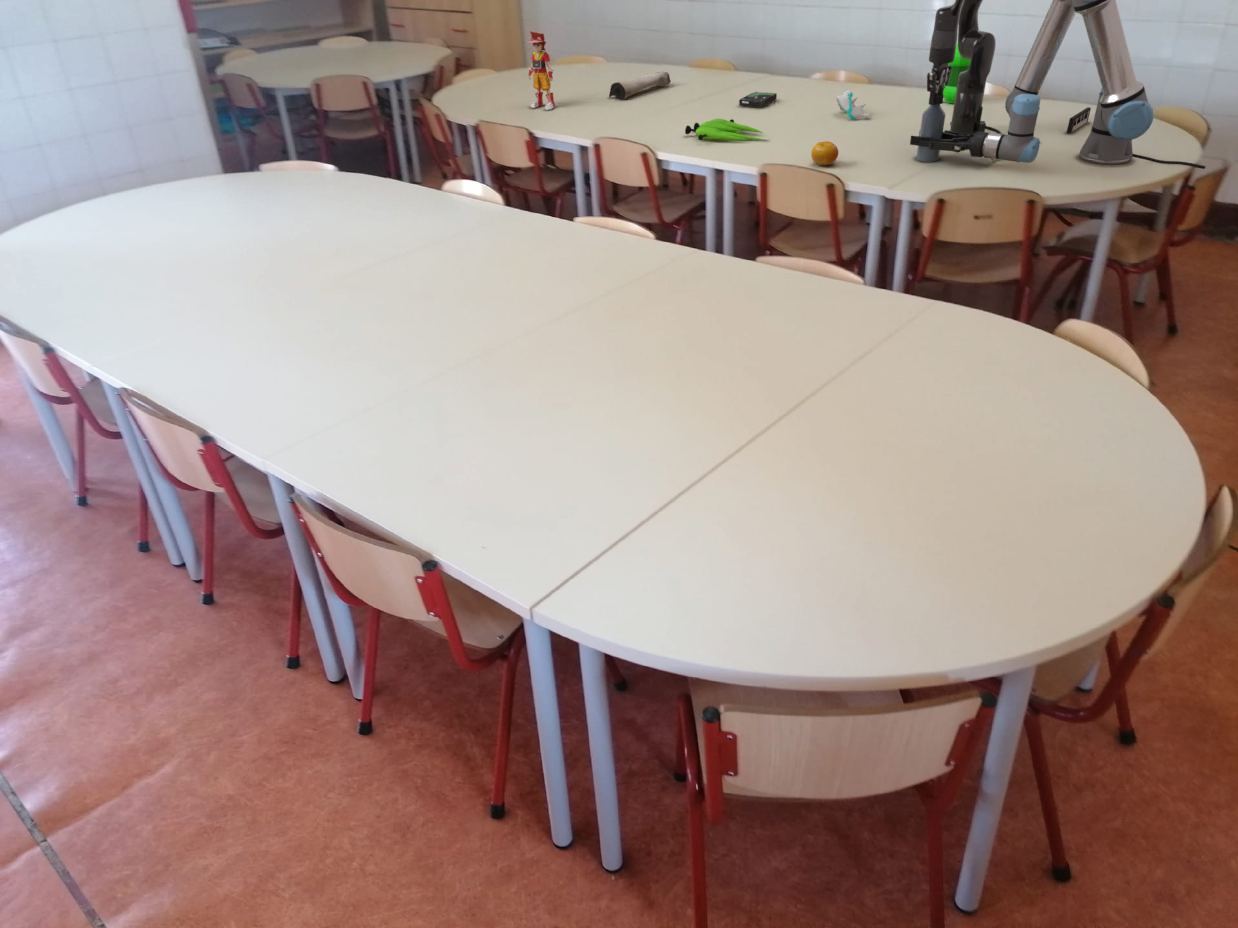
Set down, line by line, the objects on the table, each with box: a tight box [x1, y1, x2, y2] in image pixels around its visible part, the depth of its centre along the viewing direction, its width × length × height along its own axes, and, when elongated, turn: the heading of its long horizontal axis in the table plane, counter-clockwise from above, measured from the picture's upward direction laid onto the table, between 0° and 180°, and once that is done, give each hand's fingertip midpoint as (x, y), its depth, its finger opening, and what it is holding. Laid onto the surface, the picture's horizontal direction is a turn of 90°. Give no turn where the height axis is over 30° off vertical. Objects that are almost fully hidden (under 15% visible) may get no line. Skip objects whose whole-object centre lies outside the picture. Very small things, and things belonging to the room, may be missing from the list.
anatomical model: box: [836, 89, 870, 121], centre depth 344 cm, size 15×10×10 cm
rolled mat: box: [608, 71, 672, 101], centre depth 395 cm, size 30×9×10 cm
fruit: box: [810, 140, 839, 166], centre depth 296 cm, size 8×8×8 cm
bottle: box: [915, 104, 946, 163], centre depth 291 cm, size 7×7×20 cm
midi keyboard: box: [1066, 107, 1092, 134], centre depth 315 cm, size 18×1×5 cm, turn 138°
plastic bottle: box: [943, 42, 971, 104], centre depth 348 cm, size 10×10×25 cm
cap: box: [936, 93, 944, 105], centre depth 286 cm, size 4×4×2 cm
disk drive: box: [738, 91, 778, 109], centre depth 368 cm, size 10×3×15 cm
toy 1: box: [527, 31, 556, 111], centre depth 374 cm, size 12×9×30 cm
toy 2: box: [684, 118, 766, 141], centre depth 330 cm, size 28×5×30 cm
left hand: (935, 103), depth 287 cm, fingers closed on cap, 4 cm apart
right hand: (915, 137), depth 295 cm, fingers closed on bottle, 7 cm apart
